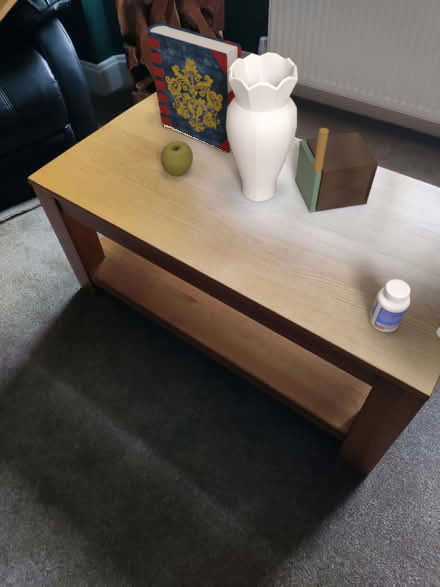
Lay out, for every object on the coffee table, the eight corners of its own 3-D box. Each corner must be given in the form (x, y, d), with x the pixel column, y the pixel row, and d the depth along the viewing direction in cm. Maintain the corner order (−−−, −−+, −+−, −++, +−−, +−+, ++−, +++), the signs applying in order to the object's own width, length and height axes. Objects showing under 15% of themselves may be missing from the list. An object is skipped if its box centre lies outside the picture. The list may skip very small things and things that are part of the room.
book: (156, 125, 122) (139, 30, 103) (172, 114, 126) (159, 20, 106) (227, 154, 112) (224, 55, 93) (243, 141, 116) (242, 43, 96)
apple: (200, 171, 109) (197, 146, 103) (174, 185, 106) (170, 160, 100) (182, 158, 112) (179, 133, 107) (157, 171, 109) (152, 146, 104)
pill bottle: (405, 327, 78) (422, 294, 70) (379, 337, 77) (394, 305, 69) (387, 304, 81) (402, 271, 74) (362, 314, 80) (375, 281, 73)
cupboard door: (301, 178, 105) (311, 100, 89) (316, 211, 98) (330, 132, 82) (293, 179, 105) (302, 101, 89) (308, 212, 97) (321, 133, 82)
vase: (275, 166, 108) (284, 43, 85) (299, 202, 100) (316, 77, 77) (220, 179, 106) (213, 57, 83) (240, 218, 98) (239, 93, 75)
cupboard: (348, 172, 106) (357, 131, 97) (366, 204, 99) (378, 163, 90) (300, 179, 105) (306, 139, 96) (316, 211, 98) (323, 171, 89)
